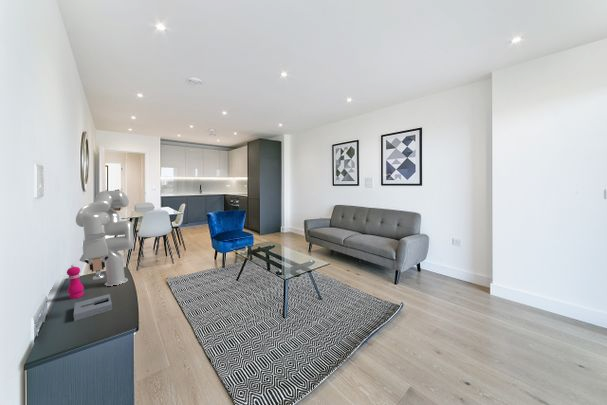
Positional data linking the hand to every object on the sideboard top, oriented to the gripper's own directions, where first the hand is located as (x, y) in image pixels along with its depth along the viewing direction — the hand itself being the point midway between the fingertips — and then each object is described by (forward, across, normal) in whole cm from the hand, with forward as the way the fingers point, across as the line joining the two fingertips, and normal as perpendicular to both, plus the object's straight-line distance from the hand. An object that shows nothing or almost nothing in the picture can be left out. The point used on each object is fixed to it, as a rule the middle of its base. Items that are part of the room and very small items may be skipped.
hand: (97, 269), depth 134 cm
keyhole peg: (+5, 0, 0) cm, 5 cm away
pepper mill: (+21, +11, -28) cm, 37 cm away
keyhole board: (+21, +4, 0) cm, 21 cm away
